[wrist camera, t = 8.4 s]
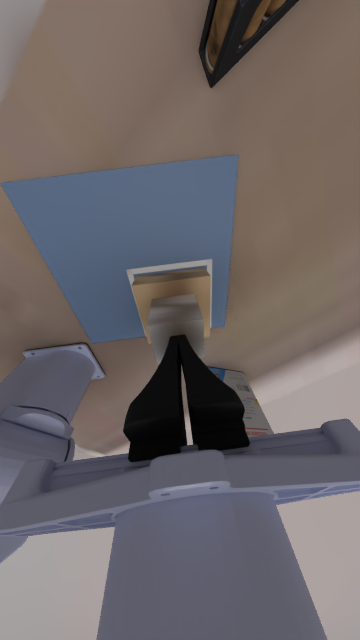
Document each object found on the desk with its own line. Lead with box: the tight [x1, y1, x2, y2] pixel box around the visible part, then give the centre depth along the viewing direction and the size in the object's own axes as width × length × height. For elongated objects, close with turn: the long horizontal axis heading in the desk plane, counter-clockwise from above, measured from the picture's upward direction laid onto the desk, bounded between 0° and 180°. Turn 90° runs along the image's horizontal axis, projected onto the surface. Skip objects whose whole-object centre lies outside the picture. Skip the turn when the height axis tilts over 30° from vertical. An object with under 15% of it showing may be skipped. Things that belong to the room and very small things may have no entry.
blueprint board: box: [0, 155, 238, 343], centre depth 18 cm, size 20×18×1 cm
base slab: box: [132, 268, 211, 344], centre depth 19 cm, size 8×8×3 cm
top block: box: [147, 294, 204, 364], centre depth 15 cm, size 4×4×5 cm
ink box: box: [208, 367, 274, 437], centre depth 24 cm, size 8×5×15 cm, turn 72°
